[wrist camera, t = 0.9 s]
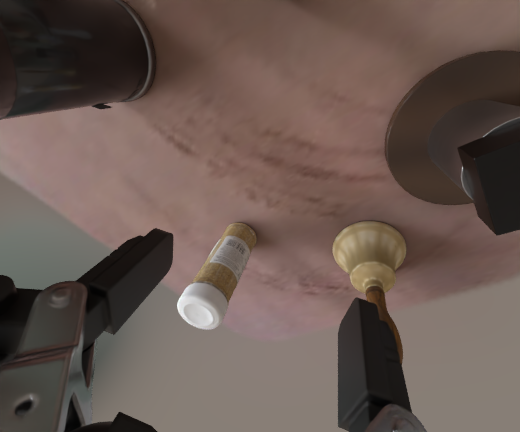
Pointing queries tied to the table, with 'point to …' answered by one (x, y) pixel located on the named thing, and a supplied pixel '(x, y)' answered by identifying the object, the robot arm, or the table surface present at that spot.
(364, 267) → the hand bell
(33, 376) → the robot arm
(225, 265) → the sprinkles bottle
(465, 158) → the black-lidded handled container
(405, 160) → the disc
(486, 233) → the table surface
